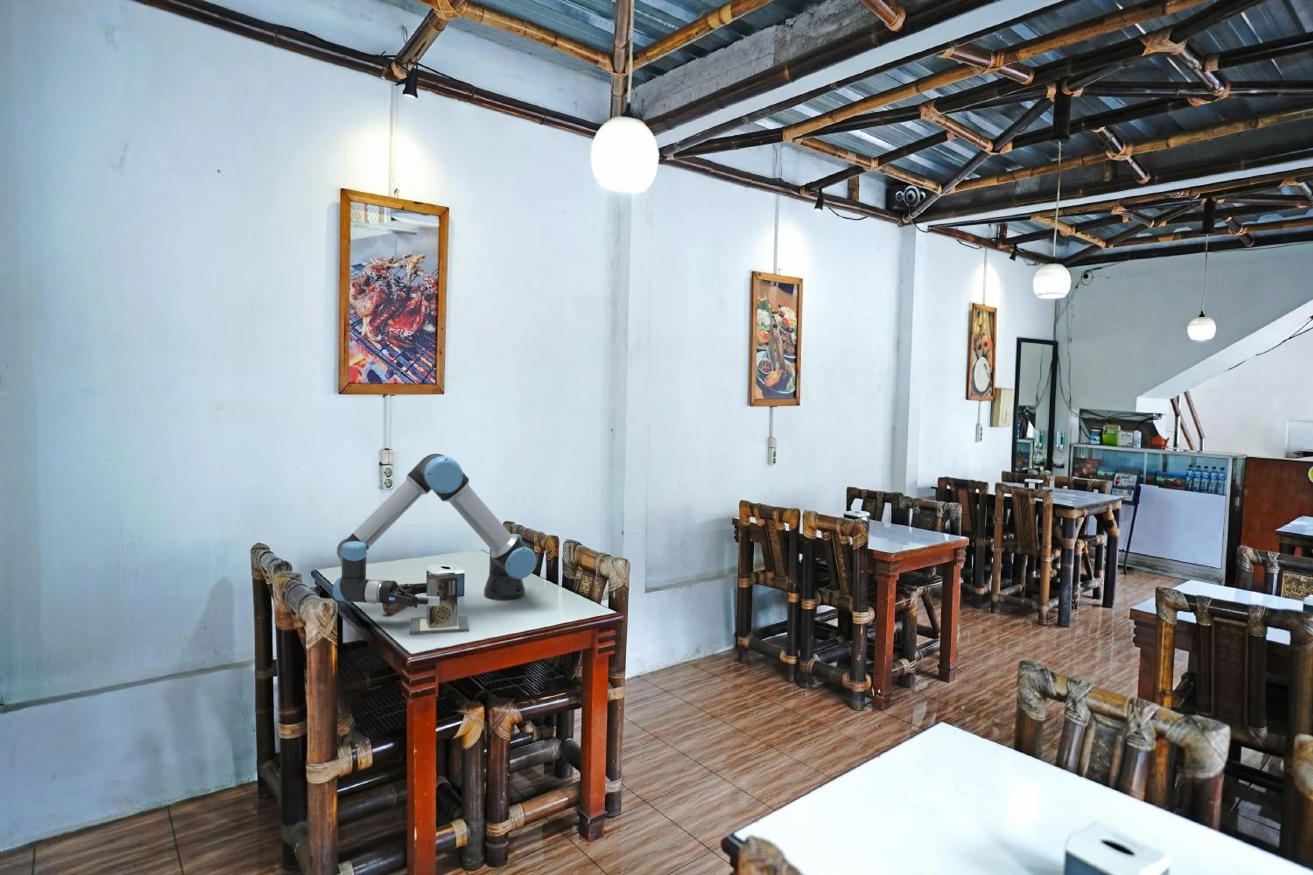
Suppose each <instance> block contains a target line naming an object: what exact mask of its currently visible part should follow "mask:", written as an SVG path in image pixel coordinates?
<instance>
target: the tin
mask: <svg viewBox="0 0 1313 875" xmlns="http://www.w3.org/2000/svg"><path fill="white" fill-rule="evenodd" d="M404 584H405V583H404ZM404 584H403V583H400V584H397V585H398V586H399V587H402V586H404ZM407 607H408V606H405V605H401V604H397V603H393V604H382V610H383V613H386V614H387V615H395V614H398V613H399V612H401V611H403V610H405V609H406V608H407Z"/></svg>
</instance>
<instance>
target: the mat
mask: <svg viewBox="0 0 1313 875" xmlns="http://www.w3.org/2000/svg"><path fill="white" fill-rule="evenodd" d="M469 629H470V628H469V622H468V615H467V614H463V615H461V614H460V615H457V625H452V626H443V627H434V628H429V627H428V624H427V616H422V617H410V626H409V635H410V636H411V635H414V636H415V635H426V634H428V635H429V634H431V633H432V634H445V633H444V632H446V634H448V633H447V632H450V633H465V632H464V631H468V632H470V630H469ZM432 634H431V635H432Z"/></svg>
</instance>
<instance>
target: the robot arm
mask: <svg viewBox="0 0 1313 875" xmlns="http://www.w3.org/2000/svg"><path fill="white" fill-rule="evenodd" d="M405 476H406V479H405V481H404V482H403V483H401V484H400V485H399V486H398V487H397V488H396V490H395V491H393V493H391V494H390V495H389V497H388V498H387V499H385V500H384V501H383V503H381V504H380V506H379V507H377V508H376V510H374V511H373V513H372V514H370V515H369V516H367V518H366V519H365V520H364V521H363V522H362V523H361V525H359V526H358V527H357V528H356V529H355V530H354V531H353V532H352V533H351V534H350V535H349V536H348V537H347V538H345V539H342V540H340V542H339V543H338V544H337V547H336V555H337V557H338V559H339V561H340V563H341V577H338V578H337V579H336V580H335V581H334V583H333V588H332V595H333V598H334V599H335V600H336V601H338V602H339V601H340V602H345V603H365V604H366V603H367V604H372V605H376V604H382V605H383V604H393V603H397V604H401V605H405V606H407V607H409V608H415V609H417V608H418V606H427V605H428V606H439V604H440V597H430V596H427V595H426V596H425V595H420V594H427V582H421V583H404V586H402V587H399V586H398V585H399V584H398V581H396V580H383V579H369V578H367V555H368V552H367V551H368V550H369V549H370V548H371V547H372V545H373V544H374V543H376V542H377V540H378V539H380V538H381V537H382V535H384V534H385V533H386V531H388V530H389V528H391V527H392V526H393V524H394V523H396V522H397V520H399V519H400V518H401V517H402V515H404V513H406V512H407V510H409V509H410V507H412V506H413V505H414V504H415V502H417V501H418V499H419V498H421V497H422V496H423V495H427V494H429V493H430V492H431V491H433V492H434V493H435V495H437V497H438V498H439V499H440V500H441V501H442V502H448V503H450V505H451V506H452V507H453V508H454V509H455V511H456V512H457V513H458V514H459V515H460V516H461V517H462V518H463V519H464V520H465V521H466V523H467V524H468V525H469V526H470V528H472V529H473V531H475V533H476V535H478V536H479V537H480V539H481V540H482V541H483V542H484V543H485V545H487V547H488V548H489V570H488V571H489V572H488V573H489V574H488V577H487V580H486V583H485V586H484V590H483V596H484V597H485V598H487V599H491V600H495V601H496V600H497V601H509V600H516V599H520V598H523V597H524V596H525V592H526V590H525V585H524V582H523V579H525V578H528V577H529V576H530V575H531V574H532V573H533V572H534V570H535V569H536V566H537V556H536V554H535V552H534V551H533V549H531V548H530V547H528V546H527V545H526V543H524V541H523V539H522V535H521V534H518V533H517V534H516V533H510V532H509V531H508V529H506V527H505V525H503V523H501V521H500V520H499V519H498V518H497V517H496V516H495V514H494V513H493V512H492V511H491V510H490V509H489V507H488V506H487V505H486V504H485V503H484V501H482V499H481V498H480V496H478V494H477V493H476V492H475V491H474V490H473V488H471V487H470V478H469V477H468V476H467V475H466V474H465V472H464V471H463V469H462V468H461V466H460V464H459V463H458V462H457V461H456V460H455V459H453V458H452V457H448V456H446V455H443V454H440V453H431V454H429V455H426V456H425V457H423V458H422V459H421V460H420V461H419V462H418V463H417V464H416V465H415V466H414V467H413V468H412V470H410V471H409V472H408V473H407V474H406V475H405ZM417 595H418V596H417Z"/></svg>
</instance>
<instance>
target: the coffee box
mask: <svg viewBox="0 0 1313 875" xmlns="http://www.w3.org/2000/svg"><path fill="white" fill-rule="evenodd" d="M458 578H459V577H458V575H457V574H456V573H455V572H442V573H441V572H440V573H431V574H430V573H429V574H427V575H426V583H427V593H426V596H430V597H440V604H439V606H428V605H426V617H427V624H428V627H429V628H434V627H443V626H452V625H457V616H458V602H459V601H458V599H459V598H458V592H459V591H458V589H459V587H458V583H459V582H458V580H459V579H458Z"/></svg>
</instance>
